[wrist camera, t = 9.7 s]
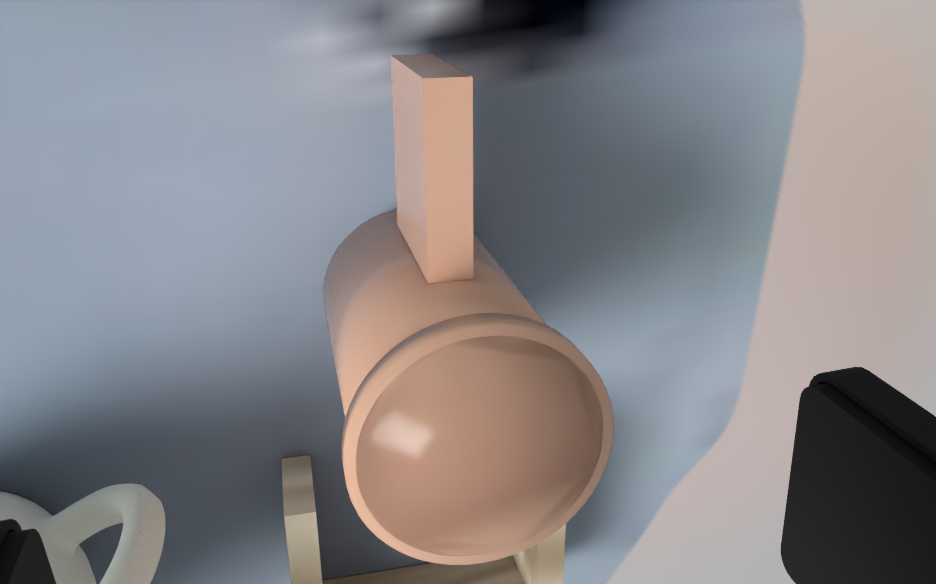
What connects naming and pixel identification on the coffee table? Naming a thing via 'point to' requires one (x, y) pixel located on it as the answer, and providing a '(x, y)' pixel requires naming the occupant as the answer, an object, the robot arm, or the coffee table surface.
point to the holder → (505, 580)
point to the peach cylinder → (453, 359)
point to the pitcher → (89, 516)
